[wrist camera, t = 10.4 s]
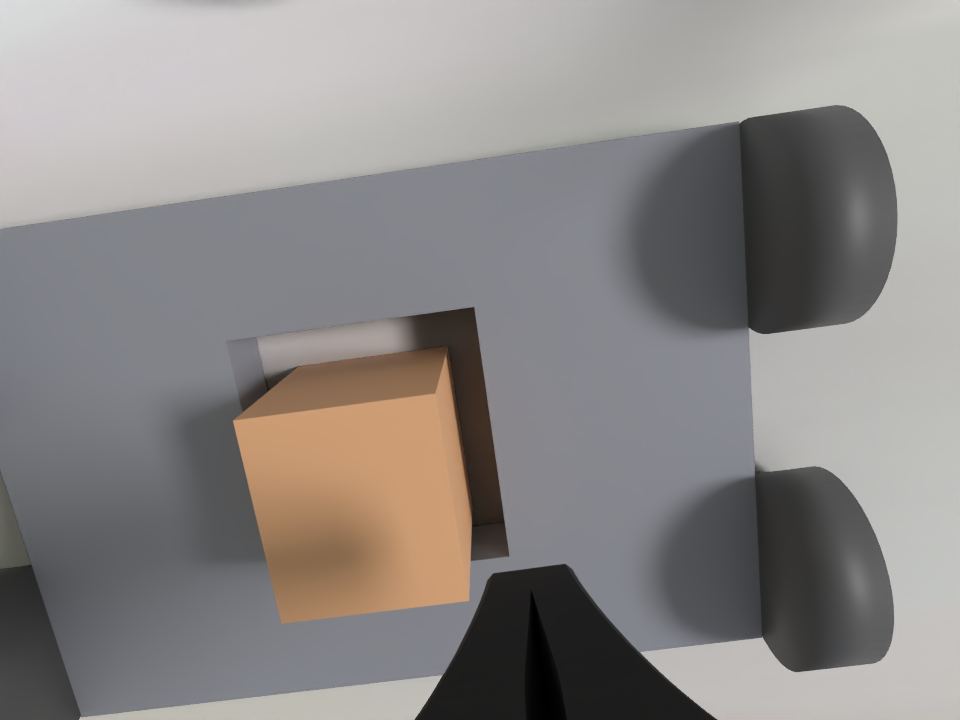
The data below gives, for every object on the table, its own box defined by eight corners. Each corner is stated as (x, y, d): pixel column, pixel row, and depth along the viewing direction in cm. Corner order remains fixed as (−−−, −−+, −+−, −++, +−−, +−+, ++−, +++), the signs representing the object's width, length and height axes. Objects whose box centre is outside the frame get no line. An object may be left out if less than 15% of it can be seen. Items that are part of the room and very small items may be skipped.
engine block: (472, 503, 19) (469, 601, 14) (331, 521, 20) (281, 623, 15) (448, 345, 18) (435, 393, 13) (298, 365, 18) (232, 420, 14)
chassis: (792, 589, 20) (893, 711, 15) (66, 676, 21) (-63, 818, 16) (777, 122, 17) (898, 84, 12) (-76, 246, 18) (-290, 258, 13)
